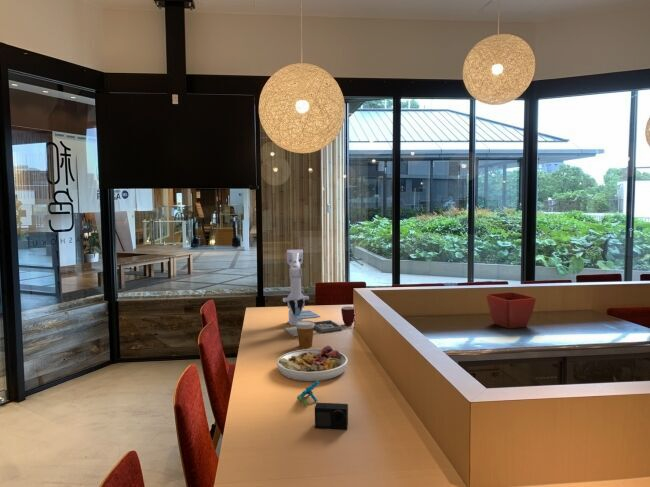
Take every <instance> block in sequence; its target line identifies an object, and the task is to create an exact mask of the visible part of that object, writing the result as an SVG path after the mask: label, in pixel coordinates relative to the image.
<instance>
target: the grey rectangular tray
mask: <svg viewBox="0 0 650 487" xmlns="http://www.w3.org/2000/svg"><path fill="white" fill-rule="evenodd" d="M313 322H314V324H315V326H314V329H315V330H317V331H318V332H320V333H321V334H325V333H332V332H333V333H335V332H340V331H342V330H343V328H342V327H343V326H341V325H340V324H338V323H336V322H335V321H333V320H331V319H329V320H322V321H321V320H319V321H313Z"/></svg>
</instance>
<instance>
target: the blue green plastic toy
mask: <svg viewBox="0 0 650 487" xmlns="http://www.w3.org/2000/svg"><path fill="white" fill-rule="evenodd" d="M319 384H320V381H313V383H311V385H309V386H308V387H306V388H305V389H304V390H303V391H302V392H301V393H300V394H298V396H297V397H296V399H297V400H298V401H301V402H303V404H304V405H305V406H306V407H308V406H309V404H308V403H307V402H306V399H307V398H309V397H311V399H312V400H313V401H314V402H315V403H318V399H317V398H316V396H315V395H314V392H313V390H315V388H316V387H317V386H318V385H319Z"/></svg>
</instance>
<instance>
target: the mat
mask: <svg viewBox="0 0 650 487" xmlns="http://www.w3.org/2000/svg"><path fill="white" fill-rule="evenodd" d="M284 330H285V331H286V332H288V333H289V335H291V336H292V335H293V337H294V338H295V336H297V337H298V333H297V328H296V326H294V327H293V326H292V327H286V328H284ZM317 334H318V333H317V332H316V331H315V330H314V331H313V335H317Z"/></svg>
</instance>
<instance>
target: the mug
mask: <svg viewBox="0 0 650 487" xmlns="http://www.w3.org/2000/svg"><path fill="white" fill-rule="evenodd" d="M354 307H355V306H342V307H341V308H340V309H341V310H340V311H341V317H342V322H343V323H344V326H349V327H350V326H352V325H354V323H355V322H354V321H355V318H354V316H355V315H354Z"/></svg>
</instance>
